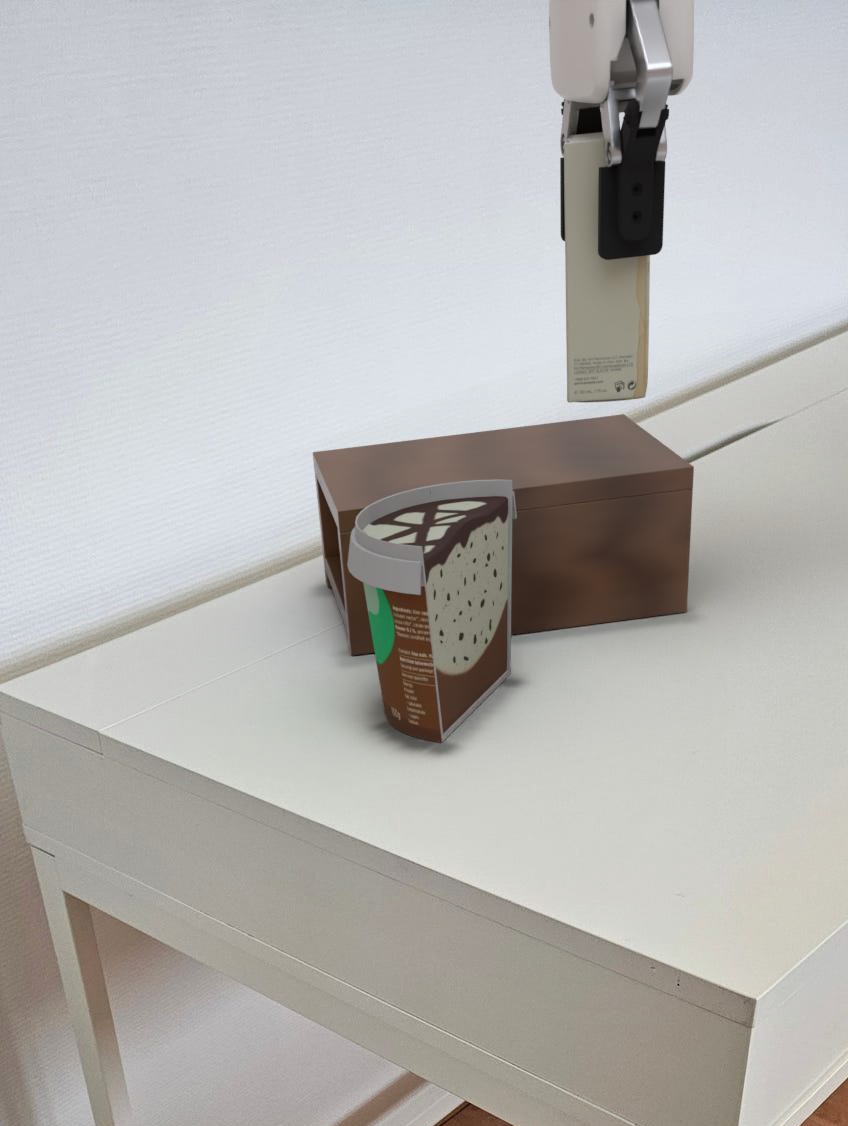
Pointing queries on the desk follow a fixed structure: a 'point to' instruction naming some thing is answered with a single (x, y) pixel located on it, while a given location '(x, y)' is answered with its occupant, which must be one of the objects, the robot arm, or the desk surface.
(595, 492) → the shelf
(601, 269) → the cosmetic box
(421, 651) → the food container
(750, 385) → the desk surface
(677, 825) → the desk surface
